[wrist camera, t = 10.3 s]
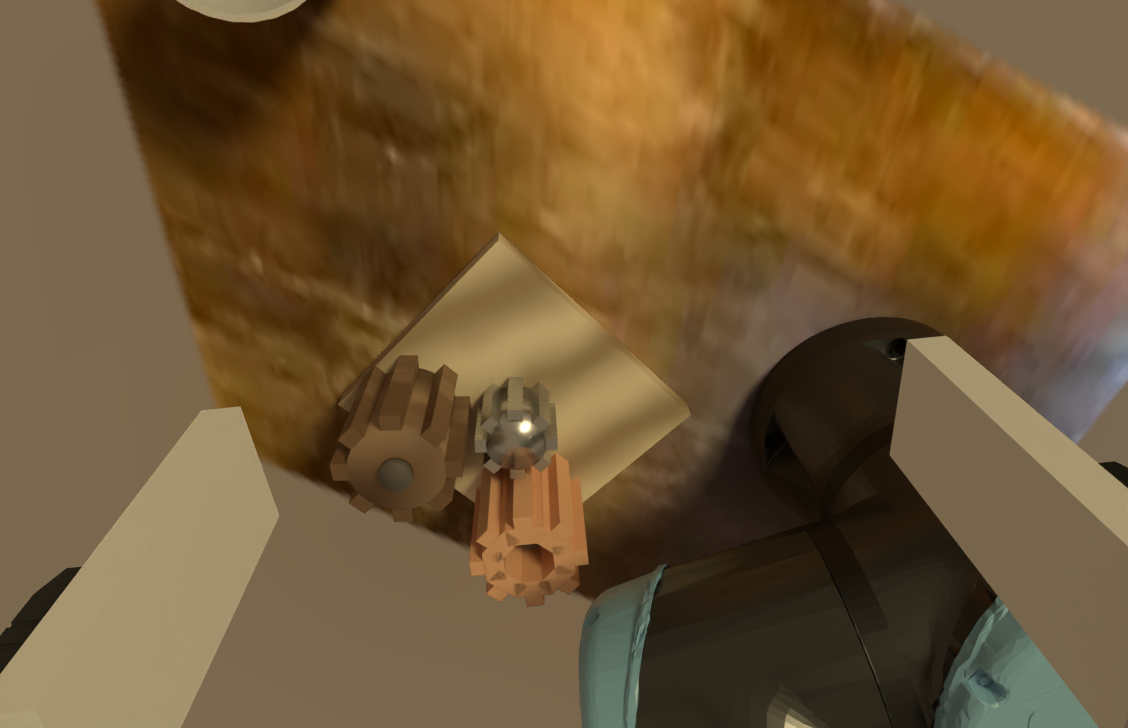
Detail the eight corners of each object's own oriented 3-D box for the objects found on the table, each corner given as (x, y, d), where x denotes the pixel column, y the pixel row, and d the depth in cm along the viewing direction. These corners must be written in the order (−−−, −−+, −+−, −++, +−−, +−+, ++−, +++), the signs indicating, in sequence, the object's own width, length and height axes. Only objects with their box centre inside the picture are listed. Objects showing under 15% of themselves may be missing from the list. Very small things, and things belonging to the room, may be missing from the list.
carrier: (686, 402, 48) (707, 459, 42) (532, 529, 53) (532, 596, 47) (499, 232, 42) (494, 271, 36) (343, 392, 46) (317, 450, 41)
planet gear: (576, 442, 47) (583, 511, 41) (584, 525, 51) (592, 600, 44) (469, 453, 47) (460, 523, 41) (484, 535, 51) (478, 611, 45)
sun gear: (570, 408, 46) (574, 443, 43) (518, 454, 48) (518, 491, 44) (515, 362, 44) (514, 394, 41) (463, 411, 46) (457, 446, 42)
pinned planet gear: (493, 402, 46) (487, 475, 39) (421, 469, 48) (404, 548, 41) (406, 333, 43) (383, 397, 36) (334, 406, 45) (301, 480, 38)
